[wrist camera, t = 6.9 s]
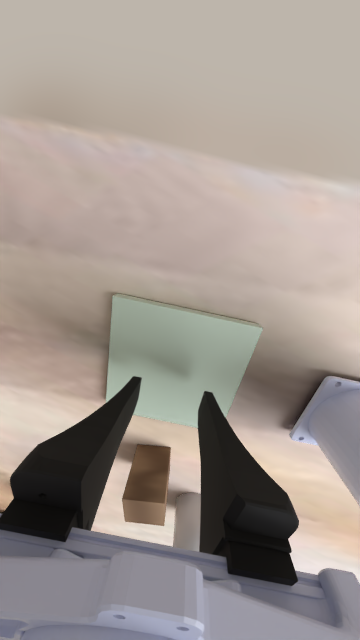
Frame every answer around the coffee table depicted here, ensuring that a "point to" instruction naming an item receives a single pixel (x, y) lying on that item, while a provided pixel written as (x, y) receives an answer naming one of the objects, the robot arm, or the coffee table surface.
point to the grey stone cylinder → (187, 522)
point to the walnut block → (147, 486)
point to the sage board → (176, 357)
